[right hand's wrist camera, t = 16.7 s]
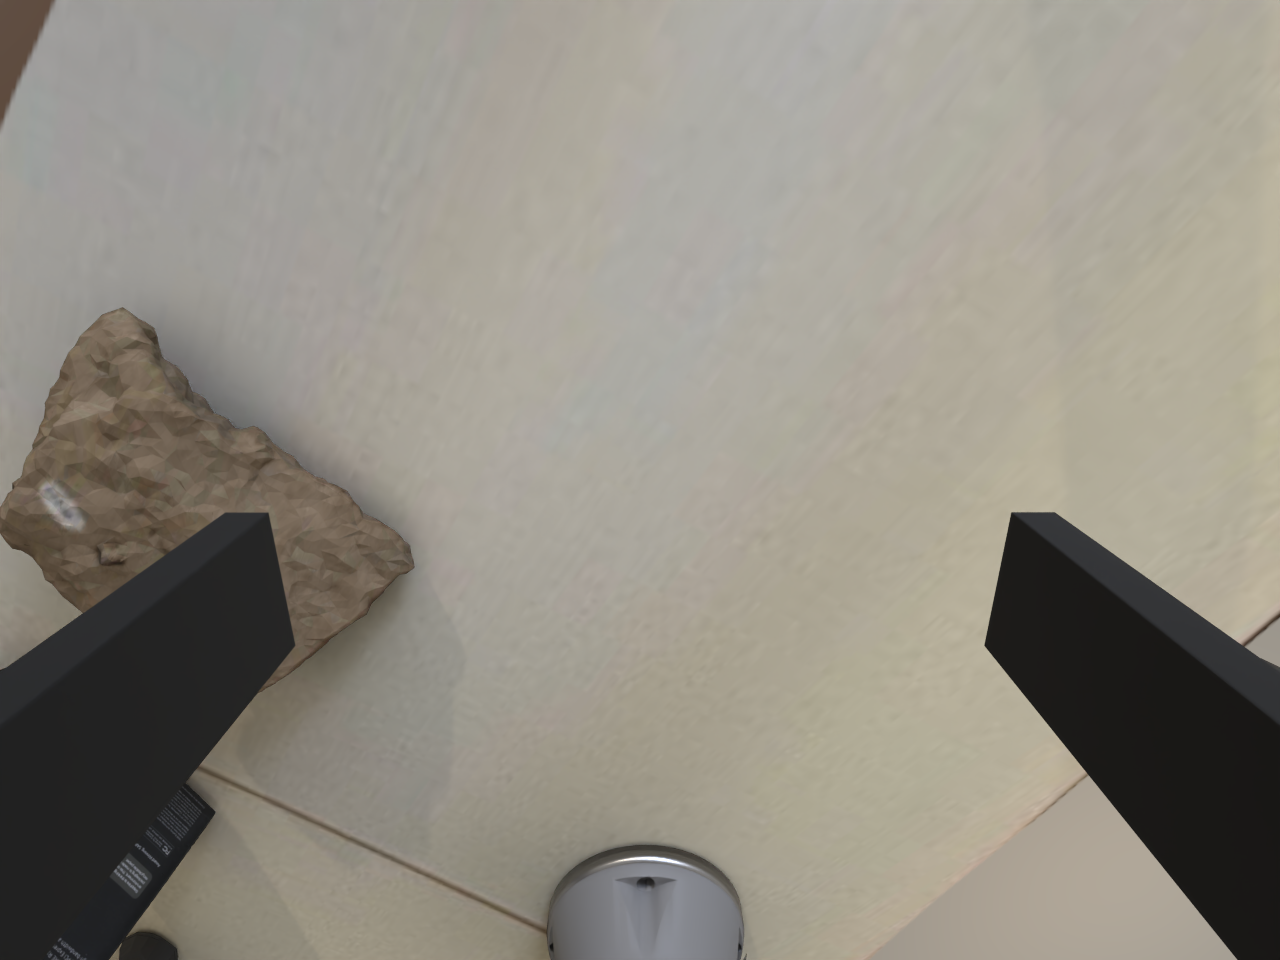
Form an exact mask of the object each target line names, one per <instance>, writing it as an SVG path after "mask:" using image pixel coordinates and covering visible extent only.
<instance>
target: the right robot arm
mask: <svg viewBox="0 0 1280 960" xmlns="http://www.w3.org/2000/svg"><path fill="white" fill-rule="evenodd" d="M295 646H296V645H295V641H294V636H293V631H292V626H291V621H290V616H289V611H288V606H287V601H286V596H285V591H284V586H283V581H282V576H281V571H280V567H279V562H278V557H277V552H276V547H275V542H274V537H273V532H272V527H271V522H270V517H269V512H225V513H224V514H222V515H221V516H220V517H218V518H217V519H215V520H214V521H212V522H211V523H210V524H208V525H207V526H205V527H204V528H203V529H201V530H200V531H198V532H197V533H196V534H194V535H193V536H191V537H190V538H189V539H187V540H186V541H184V542H183V543H182V544H180V545H179V546H177V547H176V548H174V549H173V550H172V551H170V552H169V553H167V554H166V555H165V556H163V557H162V558H160V559H159V560H158V561H156V562H155V563H153V564H152V565H151V566H149V567H148V568H146V569H145V570H143V571H142V572H141V573H139V574H138V575H136V576H135V577H134V578H132V579H131V580H129V581H128V582H127V583H125V584H124V585H122V586H121V587H120V588H118V589H117V590H115V591H114V592H112V593H111V594H110V595H108V596H107V597H105V598H104V599H103V600H101V601H100V602H98V603H97V604H96V605H94V606H93V607H91V608H90V609H89V610H87V611H86V612H84V613H83V614H81V615H80V616H79V617H77V618H76V619H74V620H73V621H72V622H70V623H69V624H67V625H66V626H65V627H63V628H62V629H60V630H59V631H58V632H56V633H55V634H53V635H52V636H50V637H49V638H48V639H46V640H45V641H43V642H42V643H41V644H39V645H38V646H36V647H35V648H34V649H32V650H31V651H29V652H28V653H27V654H25V655H24V656H22V657H21V658H19V659H18V660H17V661H15V662H14V663H12V664H11V665H10V666H8V667H6V668H4V669H2V670H0V960H43V958H44V957H45V956H46V955H47V954H48V952H49V951H50V950H51V949H52V947H53V946H54V945H55V944H56V942H57V941H58V940H59V939H60V937H61V936H62V935H63V934H64V932H65V931H66V930H67V929H68V927H69V926H70V925H71V924H72V922H73V921H74V920H75V919H76V918H77V916H78V915H79V914H80V913H81V911H82V910H83V909H84V908H85V906H86V905H87V904H88V903H89V901H90V900H91V899H92V898H93V896H94V895H95V894H96V893H97V891H98V890H99V889H100V888H101V886H102V885H103V884H104V883H105V882H106V880H107V879H108V878H109V877H110V875H111V874H112V873H113V872H114V870H115V869H116V868H117V867H118V865H119V864H120V863H121V862H122V860H123V859H124V858H125V857H126V855H127V854H128V853H129V852H130V850H131V849H132V848H133V847H134V846H135V844H136V843H137V842H138V841H139V839H140V838H141V837H142V836H143V834H144V833H145V832H146V831H147V829H148V828H149V827H150V826H151V824H152V823H153V822H154V821H155V819H156V818H157V817H158V816H159V814H160V813H161V812H162V811H163V810H164V808H165V807H166V806H167V805H168V803H169V802H170V801H171V800H172V798H173V797H174V796H175V795H176V793H177V792H178V791H179V790H180V788H181V787H182V786H183V785H184V783H185V782H186V781H187V780H188V778H189V777H190V776H191V775H192V774H193V772H194V771H195V770H196V769H197V767H198V766H199V765H200V764H201V762H202V761H203V760H204V759H205V757H206V756H207V755H208V754H209V752H210V751H211V750H212V749H213V747H214V746H215V745H216V744H217V743H218V741H219V740H220V739H221V738H222V736H223V735H224V734H225V733H226V731H227V730H228V729H229V728H230V726H231V725H232V724H233V723H234V721H235V720H236V719H237V718H238V716H239V715H240V714H241V713H242V711H243V710H244V709H245V708H246V707H247V705H248V704H249V703H250V702H251V700H252V699H253V698H254V697H255V695H256V694H257V693H258V692H259V690H260V689H261V688H262V687H263V685H264V684H265V683H266V682H267V680H268V679H269V678H270V677H271V675H272V674H273V673H274V672H275V671H276V669H277V668H278V667H279V666H280V664H281V663H282V662H283V661H284V659H285V658H286V657H287V656H288V654H289V653H290V652H291V651H292V649H293V648H294V647H295ZM984 646H985V647H986V648H987V649H988V651H989V652H990V653H991V654H992V656H993V657H994V658H995V659H996V661H997V662H998V663H999V664H1000V666H1001V667H1002V668H1003V669H1004V671H1005V672H1006V673H1007V674H1008V675H1009V677H1010V678H1011V679H1012V680H1013V682H1014V683H1015V684H1016V685H1017V687H1018V688H1019V689H1020V690H1021V692H1022V693H1023V694H1024V695H1025V697H1026V698H1027V699H1028V700H1029V702H1030V703H1031V704H1032V705H1033V707H1034V708H1035V709H1036V710H1037V711H1038V713H1039V714H1040V715H1041V716H1042V718H1043V719H1044V720H1045V721H1046V723H1047V724H1048V725H1049V726H1050V728H1051V729H1052V730H1053V731H1054V733H1055V734H1056V735H1057V736H1058V738H1059V739H1060V740H1061V741H1062V743H1063V744H1064V745H1065V746H1066V747H1067V749H1068V750H1069V751H1070V752H1071V754H1072V755H1073V756H1074V757H1075V759H1076V760H1077V761H1078V762H1079V764H1080V765H1081V766H1082V767H1083V769H1084V770H1085V771H1086V772H1087V774H1088V775H1089V776H1090V777H1091V778H1092V780H1093V781H1094V782H1095V783H1096V785H1097V786H1098V787H1099V788H1100V790H1101V791H1102V792H1103V793H1104V795H1105V796H1106V797H1107V798H1108V800H1109V801H1110V802H1111V803H1112V805H1113V806H1114V807H1115V808H1116V810H1117V811H1118V812H1119V813H1120V814H1121V816H1122V817H1123V818H1124V819H1125V821H1126V822H1127V823H1128V824H1129V826H1130V827H1131V828H1132V829H1133V831H1134V832H1135V833H1136V834H1137V836H1138V837H1139V838H1140V839H1141V841H1142V842H1143V843H1144V844H1145V846H1146V847H1147V848H1148V849H1149V850H1150V852H1151V853H1152V854H1153V855H1154V857H1155V858H1156V859H1157V860H1158V862H1159V863H1160V864H1161V865H1162V867H1163V868H1164V869H1165V870H1166V871H1167V873H1168V874H1169V875H1170V877H1171V878H1172V879H1173V880H1174V882H1175V883H1176V884H1177V885H1178V886H1179V888H1180V889H1181V890H1182V891H1183V893H1184V894H1185V895H1186V896H1187V898H1188V899H1189V900H1190V901H1191V903H1192V904H1193V905H1194V906H1195V908H1196V909H1197V910H1198V911H1199V913H1200V914H1201V915H1202V916H1203V918H1204V919H1205V920H1206V921H1207V922H1208V924H1209V925H1210V926H1211V927H1212V929H1213V930H1214V931H1215V932H1216V934H1217V935H1218V936H1219V937H1220V939H1221V940H1222V941H1223V942H1224V944H1225V945H1226V946H1227V947H1228V949H1229V950H1230V951H1231V952H1232V954H1233V955H1234V956H1235V957H1236V958H1237V960H1280V667H1278V666H1276V665H1274V664H1272V663H1270V662H1268V661H1265V660H1263V659H1261V658H1259V657H1258V656H1256V655H1255V654H1253V653H1252V652H1251V651H1249V650H1248V649H1246V648H1245V647H1244V646H1242V645H1241V644H1239V643H1238V642H1237V641H1235V640H1234V639H1232V638H1231V637H1230V636H1228V635H1227V634H1225V633H1224V632H1222V631H1221V630H1220V629H1218V628H1217V627H1215V626H1214V625H1213V624H1211V623H1210V622H1208V621H1207V620H1206V619H1204V618H1203V617H1201V616H1200V615H1199V614H1197V613H1196V612H1194V611H1193V610H1191V609H1190V608H1189V607H1187V606H1186V605H1184V604H1183V603H1182V602H1180V601H1179V600H1177V599H1176V598H1175V597H1173V596H1172V595H1170V594H1169V593H1168V592H1166V591H1165V590H1163V589H1162V588H1160V587H1159V586H1158V585H1156V584H1155V583H1153V582H1152V581H1151V580H1149V579H1148V578H1146V577H1145V576H1144V575H1142V574H1141V573H1139V572H1138V571H1137V570H1135V569H1134V568H1132V567H1131V566H1129V565H1128V564H1127V563H1125V562H1124V561H1122V560H1121V559H1120V558H1118V557H1117V556H1115V555H1114V554H1113V553H1111V552H1110V551H1108V550H1107V549H1106V548H1104V547H1103V546H1101V545H1100V544H1098V543H1097V542H1096V541H1094V540H1093V539H1091V538H1090V537H1089V536H1087V535H1086V534H1084V533H1083V532H1082V531H1080V530H1079V529H1077V528H1076V527H1075V526H1073V525H1072V524H1070V523H1069V522H1068V521H1066V520H1065V519H1063V518H1062V517H1060V516H1059V515H1058V514H1056V513H1055V512H1011V517H1010V522H1009V527H1008V532H1007V537H1006V542H1005V547H1004V552H1003V557H1002V562H1001V567H1000V571H999V576H998V581H997V586H996V591H995V596H994V601H993V606H992V611H991V616H990V621H989V626H988V631H987V636H986V641H985V645H984ZM547 941H548V949H549V955H550V958H551V960H740V959H741V955H742V950H743V942H744V924H743V917H742V910H741V904H740V900H739V897H738V894H737V892H736V890H735V888H734V886H733V885H732V883H731V882H730V881H729V879H728V878H727V877H726V876H725V875H724V874H723V873H722V872H721V871H720V870H719V869H718V868H716V867H715V866H714V865H712V864H711V863H709V862H708V861H706V860H704V859H702V858H701V857H698V856H696V855H694V854H691V853H689V852H686V851H683V850H679V849H675V848H670V847H665V846H656V845H635V846H627V847H621V848H616V849H612V850H608V851H605V852H603V853H600V854H597V855H595V856H593V857H591V858H589V859H587V860H585V861H583V862H582V863H580V864H579V865H577V866H576V867H575V868H573V869H572V870H571V871H570V872H569V873H568V874H567V875H566V876H565V877H564V878H563V879H562V881H561V882H560V883H559V885H558V886H557V888H556V890H555V892H554V894H553V896H552V900H551V903H550V909H549V917H548V924H547ZM746 955H747V954H746ZM744 960H746V956H745V958H744Z"/></svg>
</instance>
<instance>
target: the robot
mask: <svg viewBox="0 0 1280 960" xmlns="http://www.w3.org/2000/svg"><path fill="white" fill-rule="evenodd" d="M119 960H178V959H177V949H176V948H175V947H173V946H172V945H171V944H169V943H168V942H167V941H166V940H164V939H163V938H162V937H159V936H157V935H155V934H152V933H142V932H137V933H135V934H133V935H131V936H128V937H126V938H125V939H124V940H123V941H122V945H121V948H120V952H119Z"/></svg>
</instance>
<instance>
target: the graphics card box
mask: <svg viewBox="0 0 1280 960" xmlns="http://www.w3.org/2000/svg"><path fill="white" fill-rule="evenodd" d="M214 814H215V811H214V810H213V809H212V808H211V807H210V806H209V805H208V804H207V803H205V802H204V801H203V800H202V799H201V798H200V797H199V795H197V794H196V793H195V792H194V791H193V790H192V789H191V788H190V787H189V786H188V785H187V784H186V783H184V785H183V786H182V787H181V788H180V790H179V791H178V792H177V793H176V795H175V796H174V797H173V798H172V800H171V801H170V802H169V803H168V805H167V806H166V807H165V808H164V810H163V811H162V812H161V813H160V814H159V816H158V817H157V818H156V819H155V821H154V822H153V823H152V824H151V826H150V827H149V828H148V829H147V831H146V832H145V833H144V834H143V836H142V837H141V838H140V839H139V841H138V842H137V843H136V844H135V846H134V847H133V848H132V849H131V850H130V852H129V853H128V854H127V855H126V857H125V858H124V859H123V860H122V862H121V863H120V864H119V865H118V867H117V868H116V869H115V870H114V872H113V873H112V874H111V875H110V877H109V878H108V879H107V880H106V882H105V883H104V884H103V885H102V886H101V888H100V889H99V890H98V891H97V893H96V894H95V895H94V896H93V898H92V899H91V900H90V901H89V903H88V904H87V905H86V906H85V908H84V909H83V910H82V911H81V913H80V914H79V915H78V916H77V918H76V919H75V920H74V921H73V922H72V924H71V925H70V926H69V927H68V929H67V930H66V931H65V932H64V934H63V935H62V936H61V937H60V939H59V940H58V941H57V942H56V944H55V945H54V946H53V947H52V949H51V950H50V951H49V952H48V954H47V955H46V956H45V957H44V958H43V960H109V959H110V958H111V956H112V955H113V954H114V952H115V951H116V949H117V948H118V947H119V945H120V944H121V943H122V941H123V940H124V939H125V938H126V936H127V934H128V933H129V932H130V931H131V929H132V928H133V926H134V925H135V924H136V922H137V921H138V920H139V919H140V917H141V916H142V914H143V913H144V912H145V910H146V909H147V908H148V907H149V905H150V903H151V902H152V901H153V900H154V898H155V897H156V895H157V894H158V893H159V891H160V890H161V889H162V887H163V886H164V884H165V883H166V882H167V880H168V879H169V877H170V876H171V875H172V873H173V872H174V871H175V869H176V867H177V866H178V865H179V863H180V862H181V861H182V859H183V858H184V857H185V855H186V853H187V852H188V851H189V850H190V848H191V846H192V845H193V844H194V843H195V841H196V840H197V839H198V837H199V836H200V834H201V833H202V832H203V830H204V829H205V828H206V826H207V825H208V823H209V822H210V820H211V819H212V817H213V816H214Z"/></svg>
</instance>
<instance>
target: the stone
mask: <svg viewBox="0 0 1280 960" xmlns="http://www.w3.org/2000/svg"><path fill="white" fill-rule="evenodd" d="M12 485H13V490H12V491H11V492H10V493H8V495H7V497H6V499H5V501H4V502H3V504H2V505H1V507H0V534H1V535H2V536H3V538H4V539H5V541H6V542H7V543H8V544H9V545H10V546H11V548H12V549H17V550H22V551H23V552H25V553H27V554H28V555H30V556H32V558H33V559H34V560H35V561H36V563H37V564H38V565H39V566H40V568H41V569H42V571H43V574H44V577H45V580H47V581H48V582H50V583H52V584H53V586H54V587H55V588H56V589H57V590H58V591H59V593H60V594H61V595H62V596H63V597H64V598H65V599H67V600H68V601H69V602H70V603H72V604H73V605H74V606H75V607H76V608H78V609H79V610H80V611H81V612H82V613H84V612H86V611H87V610H89V609H90V608H91V607H93V606H94V605H96V604H97V603H98V602H100V601H101V600H103V599H104V598H105V597H107V596H108V595H110V594H111V593H112V592H114V591H115V590H117V589H118V588H120V587H121V586H122V585H124V584H125V583H127V582H128V581H129V580H131V579H132V578H134V577H135V576H136V575H138V574H139V573H141V572H142V571H143V570H145V569H146V568H148V567H149V566H151V565H152V564H153V563H155V562H156V561H158V560H159V559H160V558H162V557H163V556H165V555H166V554H167V553H169V552H170V551H172V550H173V549H174V548H176V547H177V546H179V545H180V544H182V543H183V542H184V541H186V540H187V539H189V538H190V537H191V536H193V535H194V534H196V533H197V532H198V531H200V530H201V529H203V528H204V527H205V526H207V525H208V524H210V523H211V522H212V521H214V520H215V519H217V518H218V517H220V516H221V515H222V514H224V513H225V512H269V517H270V522H271V527H272V532H273V537H274V542H275V547H276V552H277V557H278V562H279V567H280V571H281V576H282V581H283V586H284V591H285V596H286V601H287V606H288V611H289V616H290V621H291V626H292V631H293V636H294V641H295V645H296V646H295V647H294V648H293V649H292V651H291V652H290V653H289V654H288V656H287V657H286V658H285V659H284V661H283V662H282V663H281V664H280V666H279V667H278V668H277V669H276V671H275V672H274V673H273V674H272V675H271V677H270V678H269V679H268V680H267V682H266V683H265V684H264V685H263V687H262V688H261V689H260V690H259V692H262V691H263V690H264V689H265V688H267V687H269V686H271V685H273V684H275V683H276V682H277V681H279V680H280V679H282V678H283V677H285V676H286V675H288V674H289V673H291V672H292V671H293V670H295V669H296V668H297V667H299V666H300V665H301V664H302V663H303V662H304V661H305V660H306V659H308V658H310V657H311V656H312V655H313V654H314V653H316V652H317V651H318V650H319V649H320V648H322V647H323V646H324V645H325V644H326V643H327V642H328V641H329V639H331V638H332V637H334V636H335V635H337V634H338V633H339V632H340V631H342V630H343V629H345V628H346V627H347V626H349V625H350V624H352V623H353V622H355V621H356V620H358V619H360V618H361V617H363V616H364V615H366V614H367V612H368V610H369V608H370V606H371V603H372V602H373V601H375V600H376V599H377V598H378V597H379V596H380V595H381V594H382V593H383V592H384V590H385V588H386V587H387V586H389V585H390V584H391V583H392V582H393V581H394V580H395V578H396V577H397V576H398V575H400V574H406V573H408V572H409V571H410V570H412V569H413V568H414V561H413V558H412V555H411V550H410V546H409V544H408V543H406V542H405V541H403V539H402V538H401V537H400V536H399V535H398V534H397V533H396V532H395V531H394V530H393V529H391V528H390V527H388V526H386V525H385V524H383V523H382V522H380V521H378V520H377V519H375V518H373V517H371V516H368V515H366V514H365V513H364V512H362V511H361V509H360V507H359V506H358V505H357V504H356V503H355V502H354V501H353V500H352V498H351V496H350V495H349V493H348V491H346V490H344V489H342V488H340V487H338V486H336V485H334V484H331V483H328V482H327V481H326V480H325V479H322V478H318V477H315V476H313V475H312V474H310V473H309V472H307V471H306V470H304V469H303V468H302V467H301V466H300V464H299V463H298V462H297V461H296V460H295V458H294V457H293V456H291V455H289V454H288V453H286V452H284V451H283V450H281V449H280V448H279V447H277V446H276V445H275V444H273V443H272V441H271V440H270V438H269V437H268V436H267V435H266V433H264V432H263V431H262V430H260V429H259V428H257V427H254V426H252V427H248V428H245V429H237V428H234V426H233V425H232V424H231V423H230V421H229V420H228V419H226V418H224V417H222V416H220V415H217V414H214V412H213V411H212V409H211V408H210V406H209V404H208V403H207V401H206V400H205V398H203V397H202V396H200V395H199V394H197V393H194V392H192V390H191V388H190V385H189V383H188V380H187V379H186V377H185V376H184V375H183V373H182V372H181V371H180V369H179V368H178V367H177V366H175V365H173V364H172V363H170V362H168V361H166V360H165V359H164V358H163V357H162V355H161V351H160V348H159V344H158V338H157V335H156V332H155V329H154V328H153V327H152V326H150V325H149V324H147V323H146V322H144V321H142V320H140V319H138V318H137V317H135V316H134V315H133V314H132V313H130V312H129V311H127V310H126V309H124V308H123V307H122V308H120V309H117V310H114V311H111V312H109V313H106V314H103V315H101V317H100V318H99V319H98V320H97V321H96V322H95V323H94V324H93V325H92V326H90V327H89V328H88V329H87V330H86V331H85V332H84V333H83V334H82V335H81V336H80V337H79V339H78V341H77V343H76V345H75V347H74V348H73V349H72V350H71V351H70V352H69V353H68V355H67V357H66V359H65V361H64V364H63V366H62V368H61V370H60V377H59V379H58V380H57V382H56V383H55V385H54V386H53V387H52V388H51V389H50V392H49V397H48V399H47V400H46V402H45V414H44V419H43V421H42V423H41V425H40V427H39V432H38V434H37V436H36V439H35V441H34V443H33V450H32V451H31V452H30V453H29V455H28V456H27V458H26V460H25V463H24V466H23V472H22V476H21V478H19V479H18V480H16V481H15V482H13V483H12ZM259 692H258V693H259Z"/></svg>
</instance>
